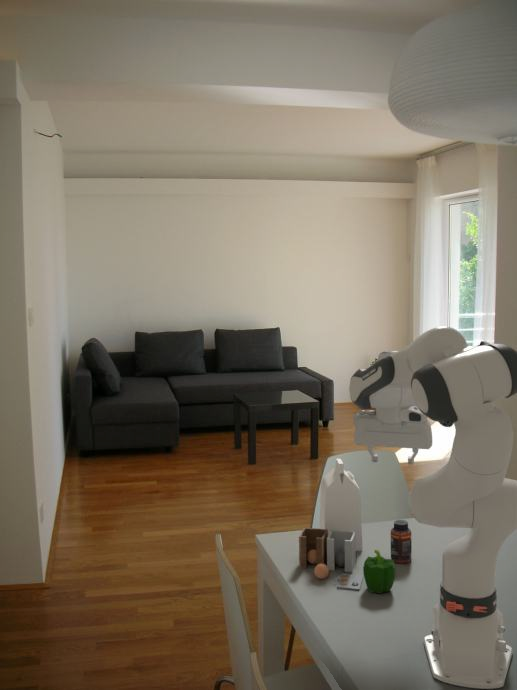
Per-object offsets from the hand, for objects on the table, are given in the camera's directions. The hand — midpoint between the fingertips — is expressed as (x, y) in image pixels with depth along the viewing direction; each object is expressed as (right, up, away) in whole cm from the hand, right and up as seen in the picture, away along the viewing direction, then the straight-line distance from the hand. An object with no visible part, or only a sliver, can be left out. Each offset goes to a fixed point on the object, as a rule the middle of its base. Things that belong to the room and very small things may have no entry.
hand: (392, 462), depth 186 cm
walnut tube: (-20, -32, +17) cm, 41 cm away
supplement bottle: (+6, -31, +18) cm, 36 cm away
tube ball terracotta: (-20, -32, +17) cm, 41 cm away
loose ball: (-18, -33, +7) cm, 38 cm away
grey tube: (-12, -32, +14) cm, 37 cm away
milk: (-10, -30, +31) cm, 44 cm away
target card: (-11, -33, +4) cm, 35 cm away
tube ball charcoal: (-12, -32, +14) cm, 37 cm away
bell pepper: (-4, -34, 0) cm, 34 cm away
